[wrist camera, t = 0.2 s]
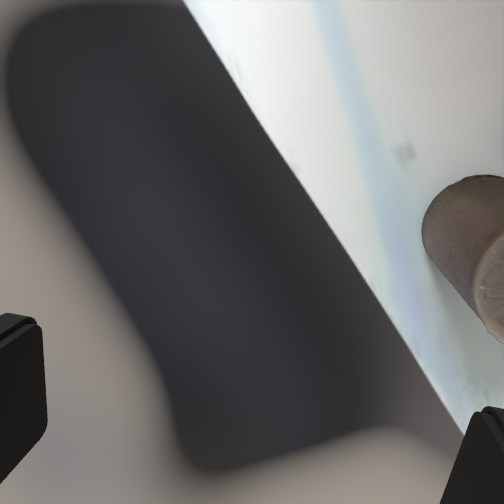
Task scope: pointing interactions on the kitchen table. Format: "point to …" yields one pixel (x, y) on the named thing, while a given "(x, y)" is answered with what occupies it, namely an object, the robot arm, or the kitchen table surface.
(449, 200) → the pillar candle
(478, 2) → the kitchen table surface
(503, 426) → the robot arm
